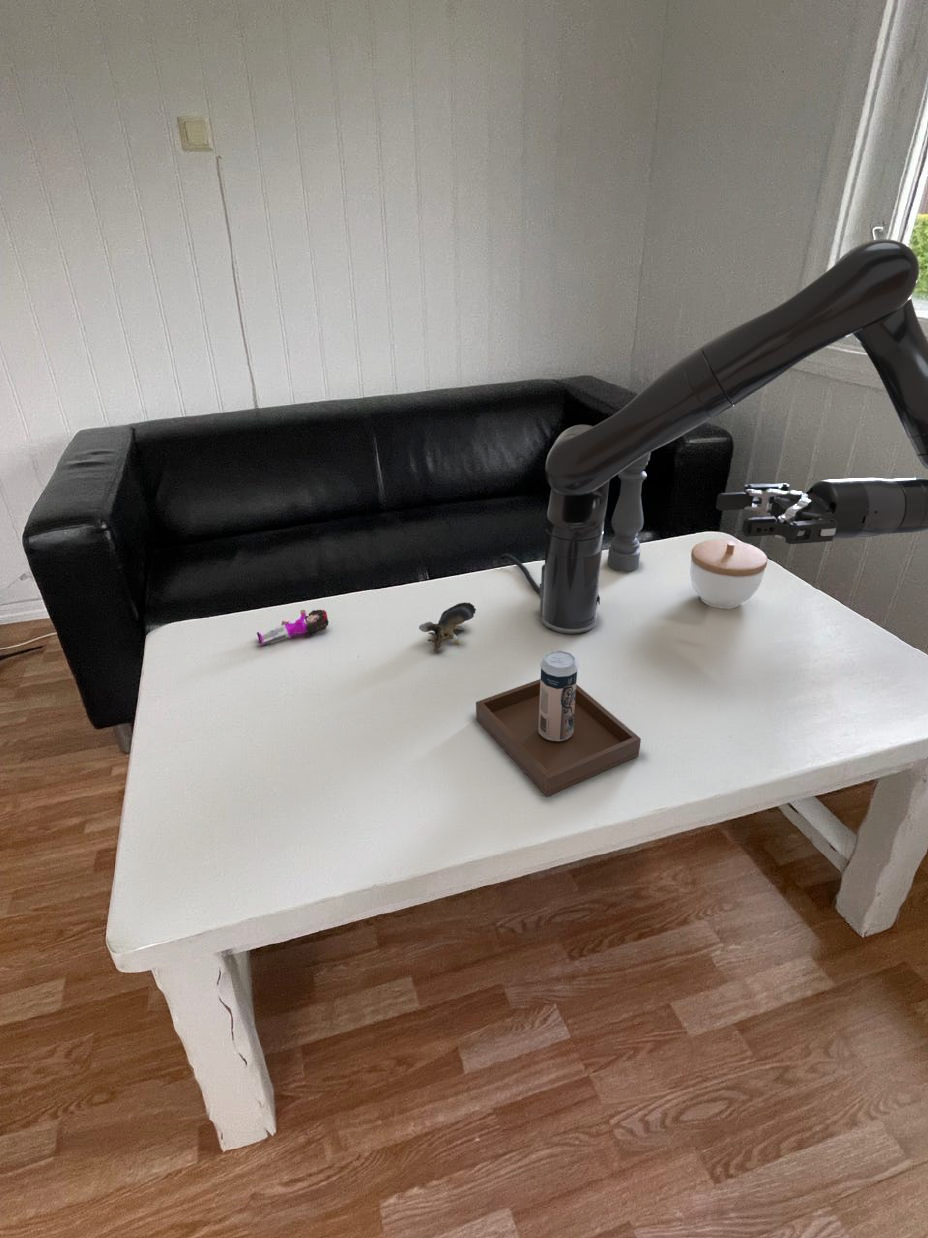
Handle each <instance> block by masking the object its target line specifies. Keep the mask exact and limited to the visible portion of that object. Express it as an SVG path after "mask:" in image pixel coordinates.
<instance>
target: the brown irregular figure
mask: <svg viewBox="0 0 928 1238" xmlns="http://www.w3.org/2000/svg"><path fill="white" fill-rule="evenodd" d="M476 611H477V608H476V607H475V605H473V603H471V602H466V601H465V602H459V603H456V604H455V605H452V606H451V607H449V608H447V609H446V610H444V611H443V612H442V613H441V616H440V617H439V620H438V622H437V623H433V622H432V621H426V622H424V623H422V624H420V625H419V626H418V629H419V630H420V631H421V632H423V633H427V634H428V635H431V636H432V637H433V639H432V638H429V639H427V642H428V643H429V642H431V643H433V644H434V648H433V652H434V653H435V652H437V651H438V650H439V649H441V647H442V644H443V642H445V641H449V640H451V641H452V642H455V643H456V644H458V645H459V646H460V644H461V642H460V638H459V637H458V636H457V635H456V634H455V632H454V631H455V630H458V631H459V630H461V631H463V630H464V631H465V630H466V629H465V627H463V626H460V625H462V624H463V623H464V622H467V621H470V620H471V619H473V618H474V616H475V614H476Z"/></svg>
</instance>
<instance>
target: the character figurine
mask: <svg viewBox="0 0 928 1238" xmlns="http://www.w3.org/2000/svg"><path fill="white" fill-rule="evenodd" d="M329 623H330V622H329V619H328V613H327V611H326V610H325V609H313V610H312V611H310V612H308V615H307V611H306V610H305V609H301V610H300V617H299V619H296V620H295V621H294V622H291V621H290V620H288V621H287V620H281V625H279V626H277V627H274V628H273V629H271V630H269V631H267V632H265V633H263V634H262V633H260V632H259V631H257V632H256V635H257V638H258V641H259V644H260V646H261V647H264V646H266V645H269V644H274V643H276V642H279V641H282V640H285V639H291V638H292V637H293V635H295V634H299V635H300V634H301V635H302V634H305V633H307V634H308V636H313V635H316V634H319V633H320V632H322V631H323V630H327V626H329Z"/></svg>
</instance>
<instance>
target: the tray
mask: <svg viewBox="0 0 928 1238" xmlns="http://www.w3.org/2000/svg"><path fill="white" fill-rule="evenodd" d="M540 679H541V678H538V679H536V680H533V681H531V682H527V683H525V684H521V685H520V686H516V687H514V688H510V689H508V690H505V691H503V692H500V693H497V694H494V695H491V696H489V697H486V698H483V699H479V700H477V701H475V719H476V720H477V721H478V723H479V724H480V725H481V726H482V727H483V728H484V729H485V730H486V731H487V733H488V734H489V735H490V736H491V737H492V738H493V740H495V742H497V744H498V745H499V746H500V747H501V748H502V749H503V750H504V751H505V752H506V753H507V755H508V756H509V757H510V758H511V759H512V760H513V761H514V762H515V764H517V766H518V767H519V768H520V769H521V770H522V771H523V773H524V774H526V775H527V776H528V778H529V779H530V781H532V782H533V783H534V784H535V786H536V787H537V788H538V789H539V790H540V791H541V792H542V793H543V794H544V795H545V797H549V796H552V795H555V794H556V793H558V792H561V791H563V790H565V789H567V788H570V787H572V786H575V785H576V784H579V783H581V782H583V781H585V780H588V779H591V778H593V777H595V776H597V775H600V774H601V773H604V772H606V771H608V770H610V769H613V768H615V767H618V766H620V765H622V764H623V763H626V762H629V761H631V760H633V759H635V758H638V757H639V756H640V749H641V742H642V738H641V737H640V736H639V735H637V734H636V732H634V731H632V730H631V729H630V728H629V726H626V724H624V723H623V722H622V721H621V720H620V719H618V718H617V717H616V716H615V715H614V714H612V713H611V712H610V711H609V710H608V709H607V708H605V707H604V706H603V705H602V704H600V702H598V701H597V700H596V699H594V697H593V696H591V695H590V694H589V693H588V692H587V691H585V689H583V688H581V686H579V685H578V684H577V683H576V695H575V709H574V722H573V734H572V736H571V737H569V738H568V739H566V740H563V741H551V740H548V739H546V738H544V737H543V736H541V734H540V733H539V731H538V726H539V703H540Z"/></svg>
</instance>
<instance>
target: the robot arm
mask: <svg viewBox="0 0 928 1238" xmlns="http://www.w3.org/2000/svg"><path fill="white" fill-rule="evenodd" d="M919 276H920V263H919V259H918V256H917V255H916V253H915V252H914V250H913V249H912V248H911V247H909V246H908V245H907V244H905V243H903V242H901V241H899V240H895V239H891V238H877V239H872V240H871V239H870V240H868V241H865V242H862V243H861V244H858V245H857V246H855V247H853V248H852V249H850V250H849V251H847V252H846V253H845V254H843V255H842V256H841V257H840V258H839V259H838V261H836V263H835V264H834V265H833V266H832V267H830V268H829V269H828V270H827V271H825V272H824V273H823V274H822V275H820V276H818V278H817V279H814V281H812V282H811V283H809V284H808V285H807V286H806V287H804V288H803V289H802V290H800V291H799V292H797V293H796V294H795V295H793V296H791V297H790V298H789V299H787V300H786V301H784V302H782V303H781V304H779V305H778V306H776V307H774V308H772V309H770V310H768V311H767V312H765V313H761V314H760V315H758V316H756V317H754V318H752V319H749V320H748V321H746V322H743V323H741V324H739V325H738V326H735V327H734V328H732V329H729V330H728V331H726V332H724V333H722V334H721V335H718V336H716V337H715V338H713V339H712V340H709V341H707V342H706V343H705V344H703V345H702V346H700V347H698V348H697V349H695V350H694V351H692V352H690V353H689V354H687V355H686V356H684V357H683V358H681V359H680V360H678V361H677V362H676V363H674V364H673V365H672V366H670V367H668V369H666V370H665V371H663V372H662V373H661V374H660V375H659V376H657V378H655V379H654V380H653V381H651V382H650V383H649V384H648V385H647V386H646V387H645V388H644V389H643V390H642V391H640V392H639V393H638V394H637V395H636V396H635V397H634V398H633V399H632V400H631V401H630V402H629V403H627V404H626V405H625V406H624V407H622V408H621V409H620V410H618V411H617V412H615V413H614V414H613V415H611V416H610V417H608V418H606V419H604V420H603V421H601V422H599V423H598V424H595V425H594V426H593V425H589V424H576V425H573V426H571V427H568V428H567V429H565V430H564V431H562V432H561V433H560V434H559V435H558V437H557V438H556V439H555V441H554V443H553V445H552V447H551V448H550V450H549V452H548V454H547V456H546V461H545V466H544V473H545V479H546V482H547V484H548V485H549V487H550V494H549V500H548V507H547V512H546V521H545V523H546V524H545V526H546V527H545V549H544V551H545V552H544V564H542V566H541V573H540V574H541V575H540V577H541V578H540V581H541V582H540V583H539V585H538V584H537V582H536V581H535V579H534V578H533V577H532V575H531V573H530V571H529V569H528V568H527V567H526V566H525V565H524V564H523V563H522V562H521V561H520V560H519V559H518V558H516V557H514V555H512V554H510V553H503V554H501V555H499V557H498V559H500V560H504V559H507V560H510V561H511V562H512V563H513V564H515V566H516V567H518V568H519V569H520V570H521V571H522V572H523V574H524V576H525V578H526V579H527V581H528V583H529V584H530V586H531V587H532V588H533V590H534V591H535V592H536V593H538V595H539V599H540V603H539V604H540V605H539V614H540V615H541V622H542V623H543V625H544V626H545V627H546V628H548V629H549V630H551V631H554V632H556V633H559V634H560V633H561V634H567V635H573V634H574V635H575V634H576V635H577V634H582V633H586V632H588V631H590V630H593V628H594V627H595V626H596V624H597V620H598V616H597V611H598V605H600V604H601V603H600V602H601V597H600V595H599V591H600V589H599V588H600V579H601V568H602V567H601V566H602V557H603V556H602V555H603V553H602V552H603V544H604V543H603V540H604V532H605V531H604V530H605V521H606V513H607V507H608V501H609V500H608V498H609V488H610V481H611V479H613V478H614V477H615V476H618V473H620V472H621V471H622V470H624V469H625V468H626V467H628V466H629V465H631V464H632V463H634V462H635V461H636V460H638V459H639V458H641V457H643V456H644V455H646V454H648V453H649V452H653V451H655V450H657V449H660V448H661V447H664V446H666V445H667V444H669V443H671V442H673V441H675V440H677V439H679V438H680V437H683V436H685V435H686V434H688V433H690V432H692V431H693V430H695V429H697V428H698V427H701V426H702V425H705V424H706V423H709V422H710V421H712V420H714V419H715V418H717V417H719V416H720V415H722V414H724V413H726V412H727V411H729V410H730V409H733V408H734V407H736V406H737V405H739V404H741V403H743V402H744V401H745V400H747V399H748V398H750V397H751V396H753V395H755V394H756V393H758V392H759V391H761V390H762V389H764V388H765V387H767V386H768V385H770V384H771V383H772V382H774V381H775V380H777V379H778V378H779V377H781V376H782V375H783V374H785V373H786V372H788V371H789V370H790V369H792V368H793V367H794V366H796V365H797V364H799V363H801V362H802V361H803V360H805V359H807V358H808V357H810V356H812V355H813V354H815V353H817V352H819V351H821V350H823V349H824V348H827V347H828V346H830V345H833V344H835V343H837V342H838V341H840V340H843V339H845V338H847V337H849V336H851V335H853V336H854V337H855V339H856V340H857V341H858V342H859V344H860V346H861V347H862V348H863V350H864V352H865V353H866V355H867V357H868V358H869V360H870V362H871V363H872V365H873V367H874V369H875V370H876V372H877V374H878V376H879V378H880V380H881V382H882V385H883V386H884V388H885V391H886V393H887V395H888V398H889V399H890V402H891V404H892V406H893V409H894V411H895V413H896V416H897V418H898V420H899V422H900V424H901V426H902V429H903V431H904V433H905V435H906V438H907V439H908V441H909V443H910V445H911V446H912V449H913V451H914V453H915V455H916V457H917V459H918V461H919V463H920V464H921V465H922V467H923V468H925V469H926V470H927V471H928V338H927V336H926V334H925V332H924V330H923V327H922V326H921V323H920V321H919V319H918V316H917V313H916V310H915V306H914V303H913V300H912V299H913V298H912V295H913V294H914V291H915V290H916V288H917V285H918V282H919V278H920V277H919ZM769 505H771V506H770V508H769ZM715 508H716V509H717V510H718V511H740V510H741V511H742V510H747V511H753V512H758V513H759V515H760V516H758V517H756V516H755V517H746V518H744V520H743V522H742V527H741V534H742V535H743V536H744V537H746V538H747V537H768V536H773V537H774V538H775V539H785V540H784V542H785V543H786V544H788V545H799V544H800V545H801V544H812V543H813V544H814V543H825V542H833V541H834V540H835V539H851V538H853V539H854V538H870V537H871V538H872V537H877V536H883V535H893V534H894V535H895V534H912V533H920V532H921V533H922V532H925V531H928V478H921V477H920V478H919V477H913V478H912V477H911V478H910V477H907V478H904V477H903V478H880V477H879V478H878V477H865V478H863V477H862V478H861V477H860V478H839V479H822V480H818V481H817V482H815V483H814V484H813V485H812V486H811V487H810V488H809V489H808V490H807V491H806V492H805V493H803V492H802V491H797V490H790V484H789V483H785V482H783V483H747V484H744V488H743V491H736V492H734V491H733V492H720V493H719V494H717V497H716V502H715ZM799 533H803V534H802V535H799Z"/></svg>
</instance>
